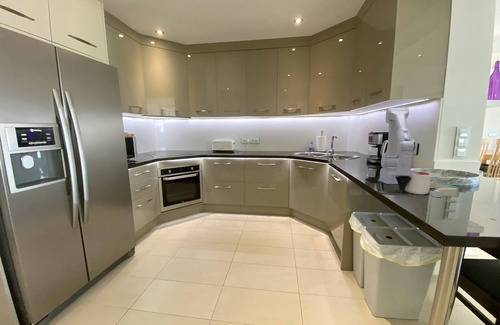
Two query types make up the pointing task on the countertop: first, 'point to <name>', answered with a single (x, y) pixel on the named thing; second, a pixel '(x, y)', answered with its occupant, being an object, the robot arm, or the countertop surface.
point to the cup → (419, 183)
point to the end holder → (445, 188)
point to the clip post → (437, 193)
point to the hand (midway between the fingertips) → (401, 190)
